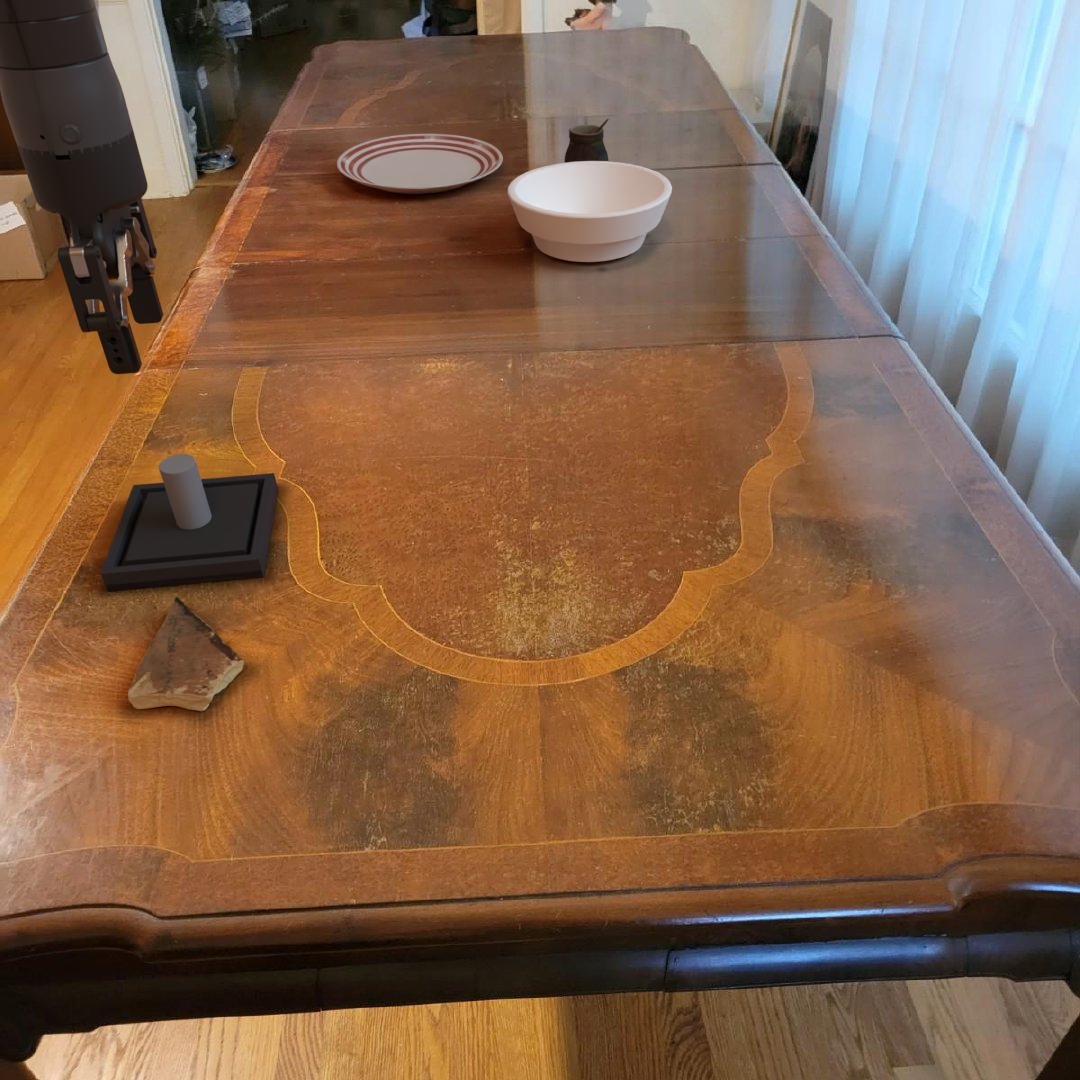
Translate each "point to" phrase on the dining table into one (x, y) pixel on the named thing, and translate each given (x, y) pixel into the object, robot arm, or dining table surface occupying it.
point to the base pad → (198, 569)
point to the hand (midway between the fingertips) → (139, 345)
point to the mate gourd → (586, 144)
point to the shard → (183, 664)
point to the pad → (198, 541)
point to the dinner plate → (419, 162)
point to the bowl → (589, 208)
